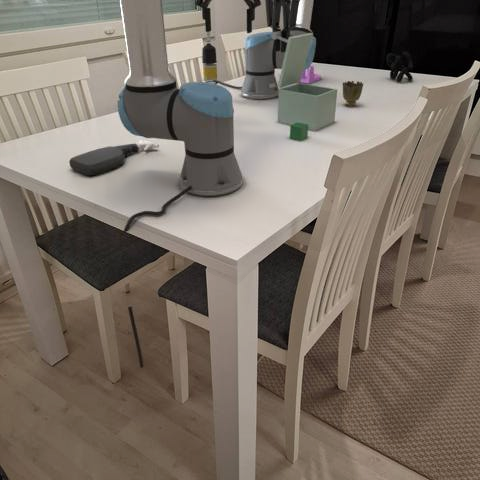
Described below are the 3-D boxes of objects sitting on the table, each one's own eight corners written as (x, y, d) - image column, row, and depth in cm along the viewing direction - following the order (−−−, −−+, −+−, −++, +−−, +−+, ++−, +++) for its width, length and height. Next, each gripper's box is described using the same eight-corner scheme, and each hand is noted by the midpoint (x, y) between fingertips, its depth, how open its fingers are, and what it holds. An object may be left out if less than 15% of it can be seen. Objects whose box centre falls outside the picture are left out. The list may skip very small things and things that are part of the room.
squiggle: (400, 92, 202) (376, 71, 205) (417, 76, 202) (392, 56, 205) (405, 81, 191) (380, 59, 194) (423, 64, 191) (397, 42, 194)
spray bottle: (67, 168, 120) (139, 144, 136) (91, 178, 114) (163, 151, 130) (65, 157, 118) (137, 134, 134) (89, 167, 112) (162, 142, 128)
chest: (334, 122, 150) (337, 89, 145) (315, 131, 143) (317, 96, 137) (297, 114, 159) (299, 82, 153) (277, 122, 151) (278, 89, 146)
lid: (313, 33, 142) (290, 24, 146) (291, 38, 135) (268, 28, 139) (300, 81, 153) (280, 71, 157) (279, 88, 145) (258, 77, 149)
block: (307, 137, 138) (308, 124, 136) (300, 140, 135) (301, 127, 133) (296, 134, 140) (297, 122, 138) (289, 138, 138) (290, 125, 135)
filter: (220, 99, 177) (217, 15, 161) (206, 100, 176) (202, 16, 160) (215, 96, 182) (212, 14, 166) (202, 97, 180) (197, 14, 164)
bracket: (309, 83, 198) (310, 66, 194) (298, 81, 200) (299, 65, 197) (323, 78, 206) (324, 62, 203) (312, 76, 209) (313, 60, 205)
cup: (337, 106, 166) (340, 84, 162) (343, 101, 171) (346, 79, 167) (357, 108, 163) (360, 86, 159) (363, 103, 168) (365, 81, 164)
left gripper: (272, -51, 127) (270, 31, 138) (192, -49, 134) (197, 29, 145) (264, -51, 121) (263, 34, 132) (181, -49, 128) (187, 32, 139)
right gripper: (311, -33, 132) (306, 52, 145) (270, -33, 141) (269, 47, 153) (296, -33, 127) (293, 55, 140) (255, -32, 136) (255, 50, 148)
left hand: (228, 32), depth 139 cm, fingers open, 13 cm apart
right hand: (280, 51), depth 146 cm, fingers closed on lid, 2 cm apart
